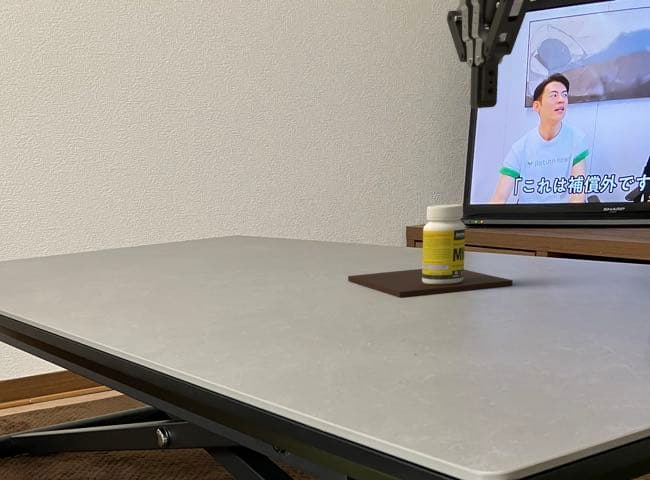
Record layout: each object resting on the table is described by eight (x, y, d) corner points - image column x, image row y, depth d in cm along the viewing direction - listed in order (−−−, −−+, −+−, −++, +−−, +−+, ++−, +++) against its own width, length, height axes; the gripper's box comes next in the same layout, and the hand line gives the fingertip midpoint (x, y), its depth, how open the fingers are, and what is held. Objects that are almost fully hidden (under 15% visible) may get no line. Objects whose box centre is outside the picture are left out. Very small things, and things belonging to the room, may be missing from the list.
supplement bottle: (458, 285, 102) (460, 206, 98) (417, 285, 104) (418, 208, 100) (467, 279, 106) (470, 203, 102) (427, 279, 108) (429, 204, 104)
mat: (448, 270, 118) (448, 266, 118) (512, 285, 104) (512, 280, 103) (347, 280, 115) (347, 276, 115) (399, 297, 100) (399, 291, 100)
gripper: (565, -117, 79) (552, 101, 86) (491, -80, 91) (485, 109, 98) (487, -116, 78) (480, 106, 85) (423, -79, 90) (421, 113, 96)
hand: (483, 107), depth 91 cm, fingers closed
